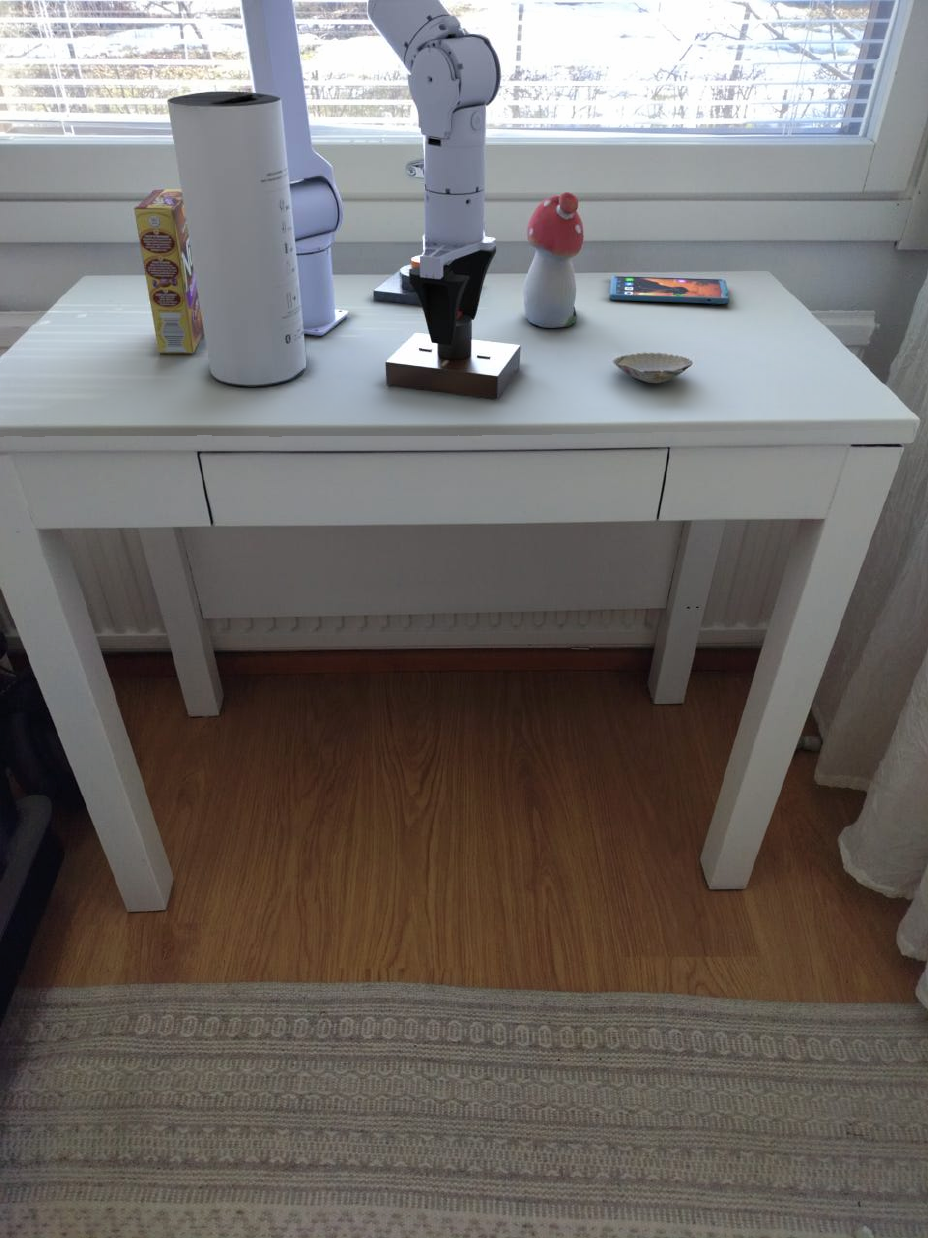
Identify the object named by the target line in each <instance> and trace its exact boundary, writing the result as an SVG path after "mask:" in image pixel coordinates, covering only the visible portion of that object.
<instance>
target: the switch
mask: <svg viewBox="0 0 928 1238" xmlns="http://www.w3.org/2000/svg"><path fill="white" fill-rule="evenodd" d="M421 255H422V254H420V255H419V254H418V255H415V256H413V257H411V258H410V265H411V270H412V269H413V268H414V267H420V256H421Z"/></svg>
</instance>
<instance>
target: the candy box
mask: <svg viewBox="0 0 928 1238" xmlns="http://www.w3.org/2000/svg"><path fill="white" fill-rule="evenodd" d="M133 211H134V216H135V221H136V228H137V234H138V239H139V245H140V251H141V257H142V262H143V268H144V274H145V275H144V276H145V280H146V281H145V282H146V286H147V292H148V293H147V294H148V300H149V305H150V310H151V314H152V315H151V316H152V322H153V327H154V333H155V340H156V344H157V352H158V353H159V354H181V355H183V354H189V355H190V354H194V353H195V351H196V349H197V347H198V346H199V343H200V341H201V340H202V337H203V336H204V329H203V323H202V317H201V310H200V304H199V298H198V291H197V285H196V279H195V272H194V266H193V259H192V253H191V247H190V240H189V234H188V228H187V221H186V215H185V209H184V202H183V196H182V190H181V188H168V189H167V188H165V189H154V190H152V191H151V192H150V194H149V195H148V196H147V197H145V198H144V199H143V200H142V201H141V202H140V203H139V204H138V205H137V206H135V207H134V208H133Z"/></svg>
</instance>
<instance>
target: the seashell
mask: <svg viewBox="0 0 928 1238" xmlns="http://www.w3.org/2000/svg"><path fill="white" fill-rule="evenodd" d="M612 362H613V364H614V365H615V366H616V367H618V368H619V369H620V370H621V371H623V372H624V373H626V374H627V375H629V376H631V377H633V378H635V379H638V380H639V381H642V382H645V383H649V384H662V383H666V382H668V381H670V380H672V379H673V378H675V377H677V376H679V375H680V374H682V373H683V372H685V371H686V370H687V369H688V368H690V367H691V366H693V361H692V360H691V359H690V358H688V357H684V356H682V355H680V356H679V355H678V354H675V355H673V354H668V353H660V352H656V353H654V352H649V353H648V352H643V353H639V352H638V353H636V354H635V353H631V354H625V355H621V356H620V357H619V356H618V357H616V358H614V359H613V360H612Z"/></svg>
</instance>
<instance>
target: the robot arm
mask: <svg viewBox="0 0 928 1238" xmlns="http://www.w3.org/2000/svg"><path fill="white" fill-rule="evenodd" d="M238 6H239V12H240V17H241V23H242V30H243V37H244V42H245V48H246V55H247V61H248V66H249V73H250V81H251V86H252V91H253V92H252V93H261V94H269V95H274V96H278V97H280V98H281V103H282V113H283V124H284V134H285V144H286V155H287V165H288V175H289V186H290V196H291V206H292V216H293V226H294V237H295V247H296V257H297V267H298V278H299V288H300V299H301V310H302V321H303V331H304V335H312V336H318V337H319V336H321V337H322V336H324V335H325V334H327V333H328V332H330V331H331V330H332V329H333V328H335V326H337V325H338V324H339V323H340V322H342V321H343V320H344V319H345V318H347V317H348V316H349V311H348V310H345V309H344V310H343V309H336V303H335V290H334V277H333V264H332V251H331V245H332V244H333V243H336V237H335V236H336V235H335V234H336V233H337V232H338V231H339V230H340V229H341V226H342V224H343V221H344V206H343V200H342V197H341V195H340V193H339V190H338V187H337V185H336V182H335V177H334V176H335V175H334V171H333V166H332V164H331V163H329V162H328V161H327V160H326V159H325V158H324V157H322V156H321V155H320V154H319V153H318V152H316V150H314V147H313V138H312V133H311V125H310V118H309V111H308V110H309V109H308V103H307V102H308V101H307V95H306V88H305V82H304V81H305V80H304V73H303V66H302V58H301V51H300V44H299V36H298V29H297V28H298V27H297V21H296V13H295V9H294V8H295V7H294V0H238ZM366 14H367V18H368V20H369V22H370V24H371V25H372V27H373V28H374V29H375V30H376V32H377V33H378V35H380V37H381V38H382V39H383V41H384V42H385V43H386V44H387V46H388V47H389V48H390V50H391V51H392V52H393V54H394V55H395V56H396V58H397V59H398V60H399V61H400V63H401V64H402V66H403V67H404V68H405V69H406V70H407V72H408V73H409V74H407V86H408V90H409V94H410V96H411V99H412V102H413V103H414V105H415V107H416V111H417V118H418V128H419V129H420V133H421V135H423V185H424V187H423V193H424V194H423V197H424V199H423V200H424V201H423V202H424V203H423V204H424V234H423V235H422V252H421V253H422V254H420V255H421V256H420V267H414V268H413V269H412V270H410V271H409V281H410V284H411V285H412V287H413V288H414V290H415V292H416V294H417V296H418V298H419V300H420V303H421V305H420V306H421V307H422V311H423V315H424V318H425V322H426V327H427V332H428V334H429V335H430V338H431V341H432V343H437V344H444V345H451V344H452V343H453V340H454V337H455V332H456V325H457V317H458V311H461V312H462V315H466V316H469V317H470V318H471V319H472V321H474V320H475V318H476V316H477V313H478V309H479V306H480V305H479V304H480V299H481V295H482V290H483V286H484V282H485V279H486V276H487V274H488V270H489V267H490V266H491V263H492V261H493V259H494V258H495V256H496V253H497V246H496V238H495V237H492V236H486V234H485V233H486V232H485V231H486V220H485V190H486V151H487V150H486V145H487V143H486V142H487V110H488V109H487V107H489V105H490V104H492V103H493V102H494V101H495V99H496V98H497V96H498V93H499V90H500V85H501V80H502V68H501V63H500V59H499V56H498V54H497V52H496V50H495V48H494V47H493V45H492V42H491V40H490V39H489V38H488V37H487V36H486V35H483V34H482V33H474V32H473V33H470V32H469V31H467V30H466V28H464V27H463V28H462V27H461V26H462V23H461V21H459V19H458V18H457V16H456V15H452V14H451V13H450V12H449V10H448V9H447V8H446V7H445V5H444V4H443V3H442V1H441V0H367V1H366Z"/></svg>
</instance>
